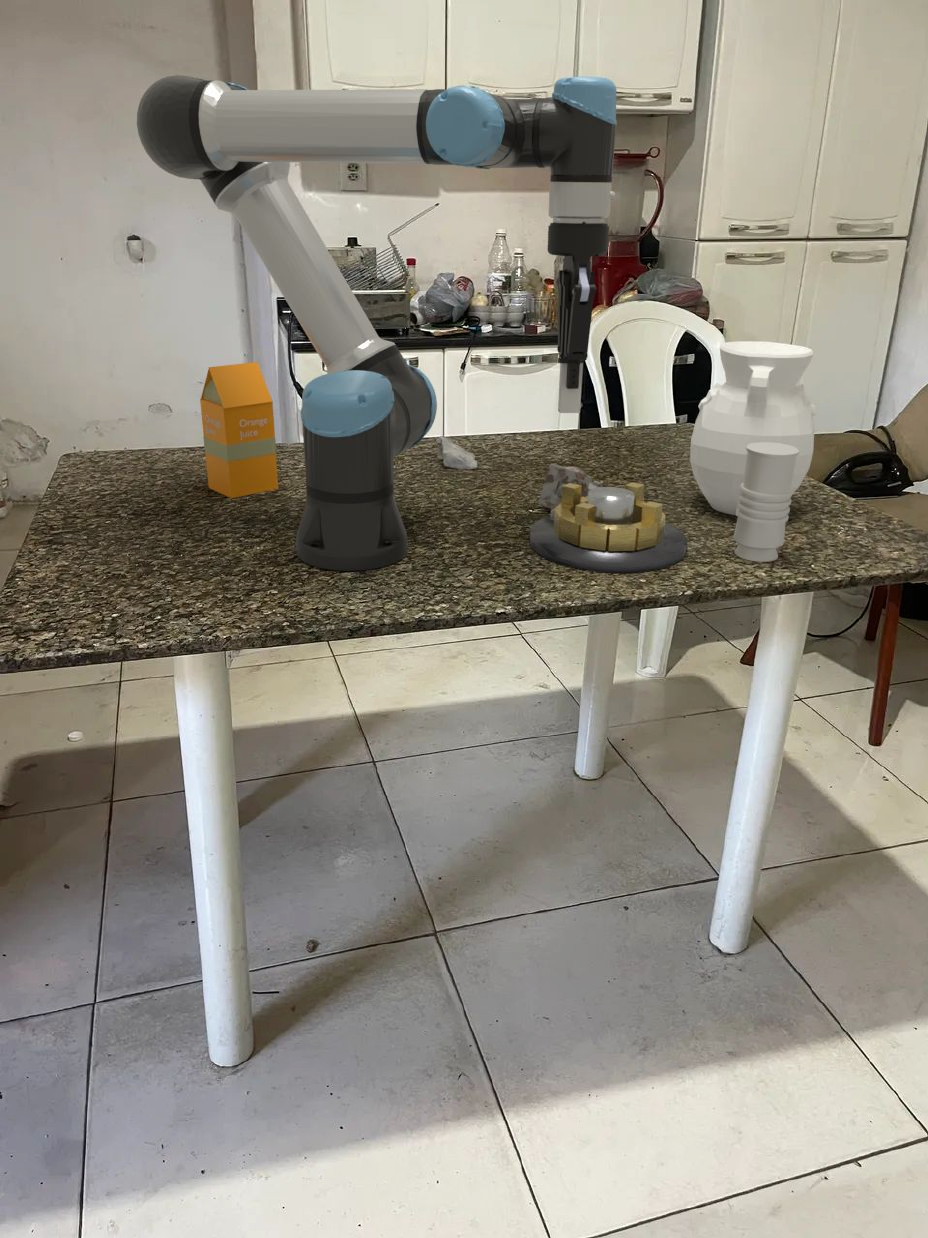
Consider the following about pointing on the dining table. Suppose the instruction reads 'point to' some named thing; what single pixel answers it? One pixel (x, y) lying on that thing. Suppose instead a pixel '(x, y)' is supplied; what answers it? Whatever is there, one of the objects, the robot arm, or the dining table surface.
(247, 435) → the orange juice
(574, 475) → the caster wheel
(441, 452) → the mineral specimen
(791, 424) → the pitcher
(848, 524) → the dining table surface
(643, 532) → the ring nut
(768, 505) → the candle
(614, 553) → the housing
